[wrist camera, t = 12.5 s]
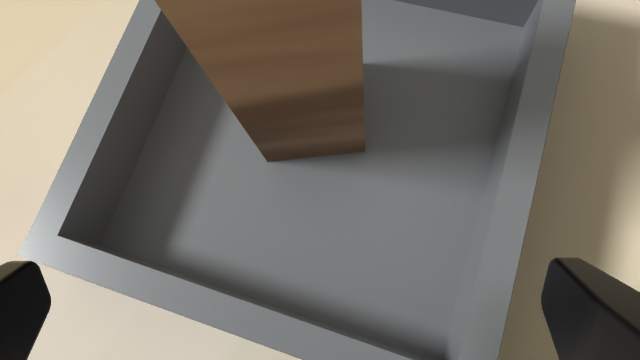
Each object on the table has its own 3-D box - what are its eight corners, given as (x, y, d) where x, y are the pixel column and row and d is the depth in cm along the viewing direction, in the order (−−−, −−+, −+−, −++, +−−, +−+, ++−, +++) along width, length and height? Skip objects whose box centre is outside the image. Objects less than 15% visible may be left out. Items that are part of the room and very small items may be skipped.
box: (459, 401, 18) (482, 425, 15) (80, 264, 22) (18, 255, 18) (547, 23, 22) (583, -35, 19) (216, -44, 26) (189, -106, 22)
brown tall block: (365, 151, 21) (358, -86, 8) (267, 161, 21) (119, -51, 9) (355, 63, 22) (337, -260, 9) (263, 74, 22) (128, -223, 10)
